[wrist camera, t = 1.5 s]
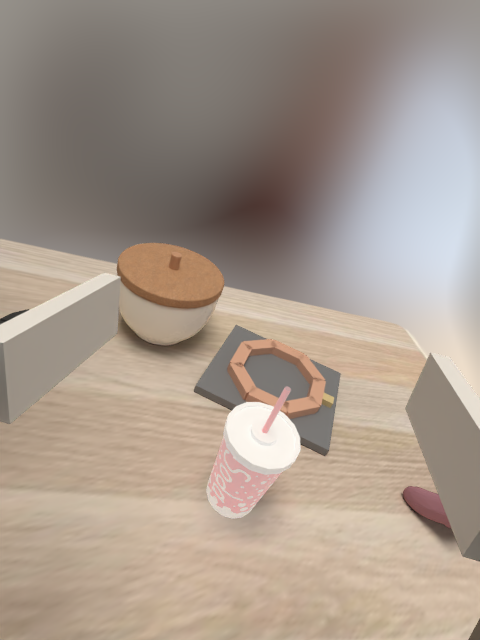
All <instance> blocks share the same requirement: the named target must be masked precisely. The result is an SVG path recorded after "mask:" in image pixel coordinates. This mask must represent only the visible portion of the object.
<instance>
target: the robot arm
mask: <svg viewBox="0 0 480 640" xmlns="http://www.w3.org/2000/svg"><path fill="white" fill-rule="evenodd" d="M120 281H121V277H120V276H115V275H111V274H107V273H103V274H101V275H98V276H96V277H94V278H92V279H90V280H88V281H86V282H84V283H82V284H80V285H78V286H76V287H74V288H72V289H70V290H68V291H66V292H64V293H62V294H60V295H58V296H56V297H54V298H52V299H50V300H48V301H46V302H44V303H42V304H40V305H38V306H36V307H34V308H32V309H30V310H29V309H28V310H24V311H19V312H15V313H12V314H10V315H7V316H5V317H3V318H1V319H0V421H1V422H4V423H7V424H11V423H12V422H13V421H14V420H15V419H17V418H18V417H19V416H20V415H21V414H23V413H24V412H25V411H26V410H27V409H28V408H30V407H31V406H32V405H33V404H34V403H36V402H37V401H38V400H39V399H40V398H42V397H43V396H44V395H45V394H46V393H47V392H49V391H50V390H51V389H52V388H53V387H55V386H56V385H57V384H58V383H59V382H60V381H62V380H63V379H64V378H65V377H66V376H68V375H69V374H70V373H71V372H72V371H73V370H75V369H76V368H77V367H78V366H79V365H81V364H82V363H83V362H84V361H85V360H87V359H88V358H89V357H90V356H91V355H92V354H94V353H95V352H96V351H97V350H98V349H100V348H101V347H102V346H103V345H104V344H105V343H107V342H108V341H109V340H110V339H111V338H113V337H114V336H115V335H116V334H117V332H118V315H119V298H120ZM405 409H406V412H407V414H408V417H409V419H410V422H411V425H412V427H413V430H414V432H415V435H416V437H417V440H418V443H419V445H420V448H421V450H422V453H423V456H424V458H425V461H426V463H427V466H428V469H429V471H430V474H431V476H432V479H433V481H434V484H435V487H436V489H437V492H438V494H439V497H440V500H441V502H442V505H443V507H444V510H445V513H446V515H447V518H448V520H449V523H450V526H451V528H452V531H453V533H454V536H455V538H456V541H457V544H458V546H459V549H460V551H461V554H462V556H463V557H466V558H470V559H473V560H476V561H480V398H479V397H478V395H477V394H476V392H475V391H474V390H473V388H472V387H471V385H470V384H469V383H468V381H467V380H466V379H465V377H464V376H463V374H462V373H461V372H460V370H459V369H458V368H457V366H456V365H455V363H454V362H453V361H452V359H451V358H450V357H446V356H442V355H437V354H434V353H430V355H429V357H428V359H427V361H426V364H425V366H424V368H423V370H422V372H421V375H420V377H419V379H418V381H417V383H416V386H415V388H414V390H413V392H412V394H411V397H410V399H409V401H408V403H407V405H406V408H405ZM468 640H480V619H479V621H478V623H477V625H476V627H475V628H474V630H473V632H472V634H471V636H470V638H469V639H468Z"/></svg>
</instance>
